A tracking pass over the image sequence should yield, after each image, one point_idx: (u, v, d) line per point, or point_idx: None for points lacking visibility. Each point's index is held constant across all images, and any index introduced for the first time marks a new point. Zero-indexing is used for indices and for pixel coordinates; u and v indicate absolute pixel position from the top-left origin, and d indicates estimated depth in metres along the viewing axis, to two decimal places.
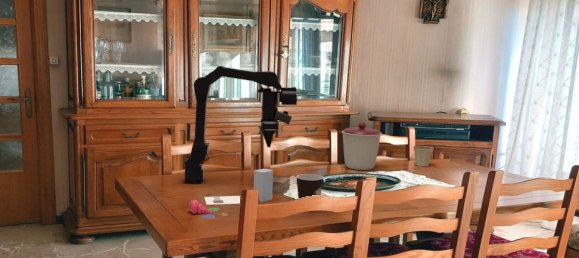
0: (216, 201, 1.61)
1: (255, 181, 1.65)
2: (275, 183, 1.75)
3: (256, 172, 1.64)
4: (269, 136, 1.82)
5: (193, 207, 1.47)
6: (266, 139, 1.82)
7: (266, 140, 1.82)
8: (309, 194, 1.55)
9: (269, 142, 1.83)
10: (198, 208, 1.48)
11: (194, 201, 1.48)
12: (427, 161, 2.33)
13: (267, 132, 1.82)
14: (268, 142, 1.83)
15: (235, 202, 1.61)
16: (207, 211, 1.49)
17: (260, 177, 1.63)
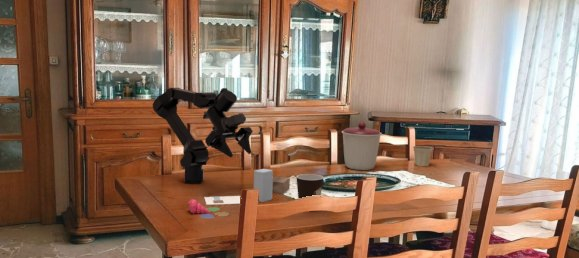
0: (216, 201, 1.61)
1: (255, 181, 1.65)
2: (275, 183, 1.75)
3: (256, 172, 1.64)
4: (223, 146, 1.68)
5: (192, 207, 1.47)
6: (223, 151, 1.68)
7: (224, 152, 1.68)
8: (309, 194, 1.55)
9: (227, 152, 1.68)
10: (197, 208, 1.48)
11: (193, 200, 1.49)
12: (427, 161, 2.33)
13: (220, 144, 1.69)
14: (227, 152, 1.68)
15: (235, 202, 1.61)
16: (206, 211, 1.49)
17: (260, 177, 1.63)
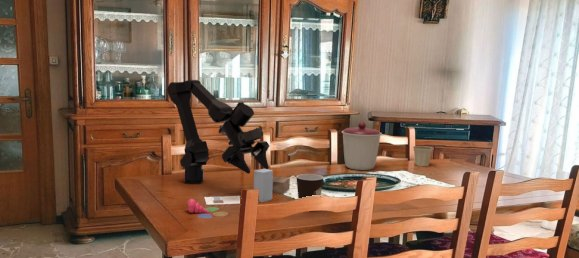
0: (216, 201, 1.61)
1: (255, 181, 1.65)
2: (275, 183, 1.75)
3: (256, 172, 1.64)
4: (240, 162, 1.64)
5: (190, 206, 1.48)
6: (240, 167, 1.64)
7: (242, 168, 1.64)
8: (309, 194, 1.55)
9: (245, 168, 1.63)
10: (195, 207, 1.48)
11: (191, 200, 1.49)
12: (427, 161, 2.33)
13: (236, 160, 1.64)
14: (244, 168, 1.63)
15: (235, 202, 1.61)
16: (204, 210, 1.49)
17: (260, 177, 1.63)
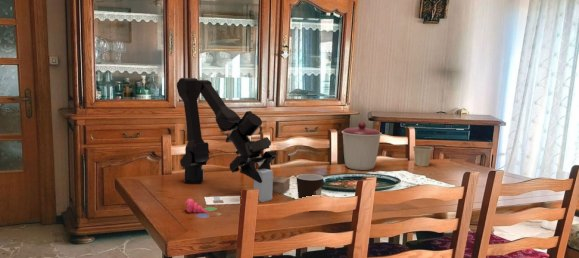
0: (216, 201, 1.61)
1: (255, 181, 1.65)
2: (275, 183, 1.75)
3: None
4: (252, 172, 1.63)
5: (188, 206, 1.48)
6: (252, 176, 1.64)
7: (253, 177, 1.63)
8: (309, 194, 1.55)
9: (256, 177, 1.63)
10: (193, 207, 1.49)
11: (189, 200, 1.49)
12: (427, 161, 2.33)
13: (248, 170, 1.64)
14: (256, 178, 1.63)
15: (235, 202, 1.61)
16: (202, 210, 1.50)
17: None
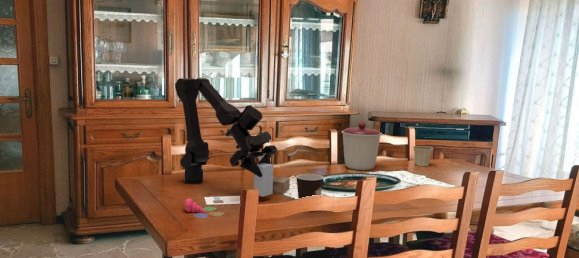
0: (216, 201, 1.61)
1: (255, 175, 1.64)
2: (275, 183, 1.75)
3: None
4: (252, 166, 1.63)
5: (187, 206, 1.48)
6: (252, 171, 1.63)
7: (254, 171, 1.63)
8: (309, 194, 1.55)
9: (257, 171, 1.63)
10: (192, 206, 1.49)
11: (188, 199, 1.50)
12: (427, 161, 2.33)
13: (248, 164, 1.64)
14: (256, 172, 1.63)
15: (235, 202, 1.61)
16: (201, 210, 1.50)
17: None
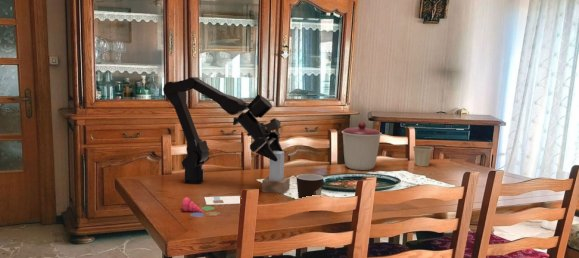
0: (216, 201, 1.61)
1: (271, 162, 1.76)
2: (275, 183, 1.75)
3: None
4: (268, 152, 1.73)
5: (184, 205, 1.49)
6: (268, 156, 1.73)
7: (269, 157, 1.73)
8: (309, 194, 1.55)
9: (272, 156, 1.73)
10: (189, 206, 1.50)
11: (185, 199, 1.50)
12: (427, 161, 2.33)
13: (263, 150, 1.73)
14: (272, 157, 1.73)
15: (235, 202, 1.61)
16: (198, 209, 1.50)
17: (277, 158, 1.76)
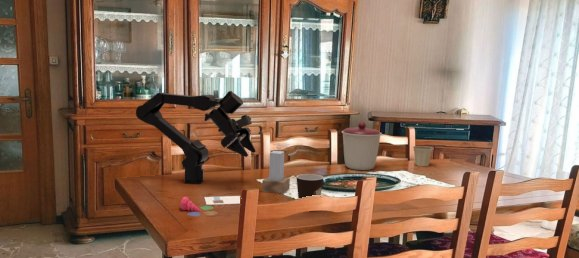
0: (216, 201, 1.61)
1: (271, 162, 1.76)
2: (275, 183, 1.75)
3: (272, 154, 1.76)
4: (238, 147, 1.76)
5: (181, 204, 1.50)
6: (238, 151, 1.77)
7: (240, 152, 1.77)
8: (309, 194, 1.55)
9: (243, 152, 1.77)
10: (187, 205, 1.51)
11: (184, 198, 1.51)
12: (427, 161, 2.33)
13: (234, 145, 1.77)
14: (242, 152, 1.77)
15: (235, 202, 1.61)
16: (195, 209, 1.51)
17: (277, 158, 1.76)
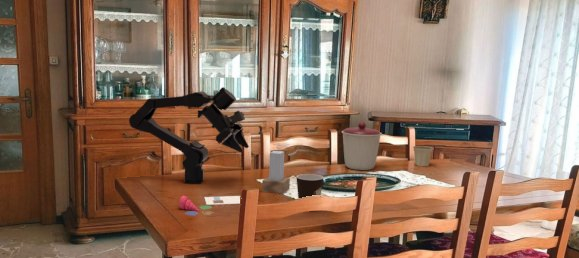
0: (216, 201, 1.61)
1: (271, 162, 1.76)
2: (275, 183, 1.75)
3: (272, 154, 1.76)
4: (233, 143, 1.78)
5: (180, 203, 1.51)
6: (233, 147, 1.78)
7: (235, 147, 1.79)
8: (309, 194, 1.55)
9: (238, 147, 1.79)
10: (185, 204, 1.52)
11: (182, 197, 1.52)
12: (427, 161, 2.33)
13: (229, 141, 1.78)
14: (237, 148, 1.79)
15: (235, 202, 1.61)
16: (194, 208, 1.52)
17: (277, 158, 1.76)
